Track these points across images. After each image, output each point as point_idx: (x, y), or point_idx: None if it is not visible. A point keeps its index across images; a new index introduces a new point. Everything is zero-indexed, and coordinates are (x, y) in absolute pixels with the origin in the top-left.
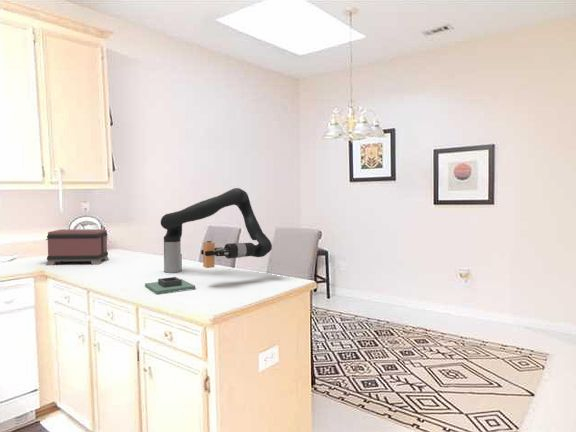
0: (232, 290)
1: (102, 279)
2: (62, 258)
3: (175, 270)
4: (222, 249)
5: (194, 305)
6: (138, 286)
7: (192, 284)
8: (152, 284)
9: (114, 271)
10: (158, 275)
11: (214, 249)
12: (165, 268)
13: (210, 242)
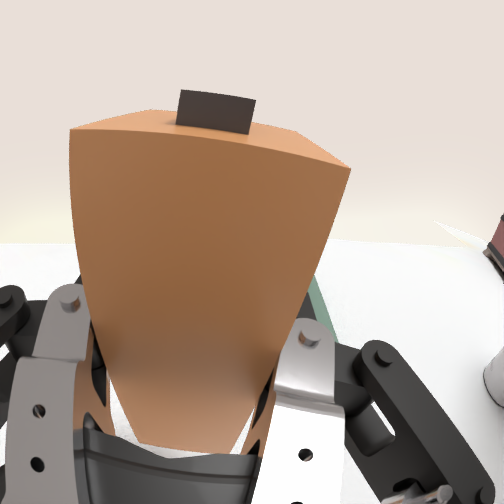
0: (3, 451)
1: (406, 257)
2: (494, 253)
3: (493, 387)
4: (19, 501)
5: (13, 257)
6: (317, 270)
7: None
8: None
9: (473, 289)
10: (452, 345)
11: (88, 306)
12: (494, 358)
13: (177, 121)
